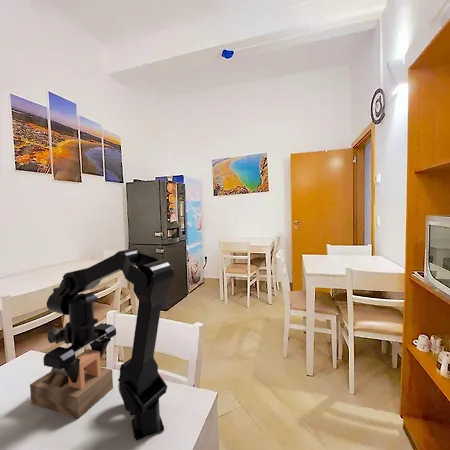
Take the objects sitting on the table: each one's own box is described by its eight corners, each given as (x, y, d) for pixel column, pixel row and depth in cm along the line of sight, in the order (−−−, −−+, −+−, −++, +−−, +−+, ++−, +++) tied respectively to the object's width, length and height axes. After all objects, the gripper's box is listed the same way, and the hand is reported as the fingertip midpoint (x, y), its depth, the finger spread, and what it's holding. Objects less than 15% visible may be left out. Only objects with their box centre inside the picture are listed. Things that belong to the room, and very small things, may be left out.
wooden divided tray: (113, 388, 81) (111, 364, 80) (78, 418, 69) (76, 391, 69) (69, 377, 86) (68, 355, 85) (31, 404, 75) (29, 378, 74)
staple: (89, 371, 79) (88, 348, 79) (101, 373, 78) (99, 351, 78) (69, 386, 73) (67, 362, 73) (81, 389, 72) (79, 364, 71)
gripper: (85, 302, 86) (88, 352, 87) (24, 328, 68) (29, 390, 69) (116, 306, 82) (118, 358, 83) (59, 334, 64) (63, 400, 66)
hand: (85, 374), depth 76 cm, fingers closed on staple, 7 cm apart
